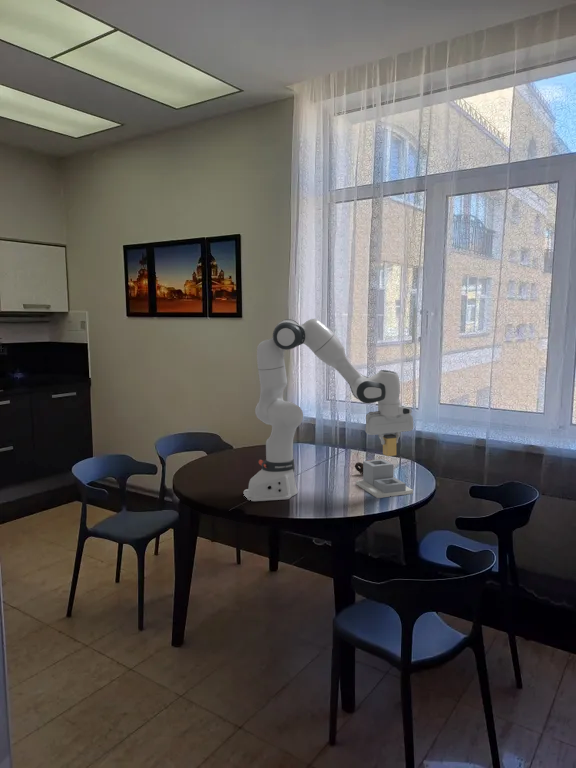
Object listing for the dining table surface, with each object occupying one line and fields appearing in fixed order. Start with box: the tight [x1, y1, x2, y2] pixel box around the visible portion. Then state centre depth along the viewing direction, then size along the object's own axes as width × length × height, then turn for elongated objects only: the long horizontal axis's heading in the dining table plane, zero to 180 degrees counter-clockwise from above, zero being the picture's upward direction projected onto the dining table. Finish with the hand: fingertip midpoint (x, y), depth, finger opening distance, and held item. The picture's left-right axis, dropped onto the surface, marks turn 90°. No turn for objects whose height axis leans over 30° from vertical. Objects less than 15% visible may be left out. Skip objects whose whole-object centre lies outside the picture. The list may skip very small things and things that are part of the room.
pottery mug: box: [354, 459, 370, 475], centre depth 241 cm, size 12×10×8 cm
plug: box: [382, 433, 397, 457], centre depth 215 cm, size 4×4×8 cm
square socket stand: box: [355, 458, 414, 499], centre depth 221 cm, size 16×20×10 cm
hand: (389, 443), depth 215 cm, fingers closed on plug, 4 cm apart
